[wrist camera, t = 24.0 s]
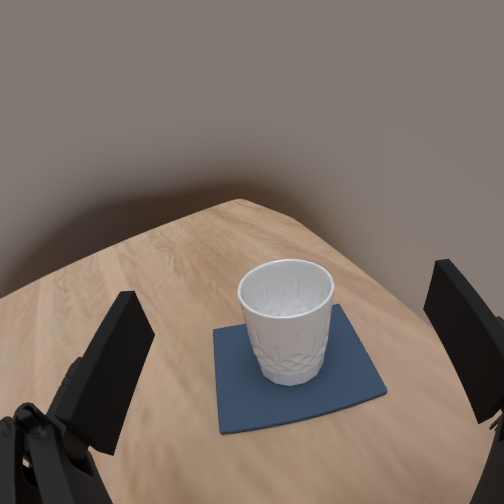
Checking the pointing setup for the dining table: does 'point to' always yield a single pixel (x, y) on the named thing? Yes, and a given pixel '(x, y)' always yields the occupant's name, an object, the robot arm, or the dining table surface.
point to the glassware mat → (297, 396)
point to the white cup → (288, 318)
